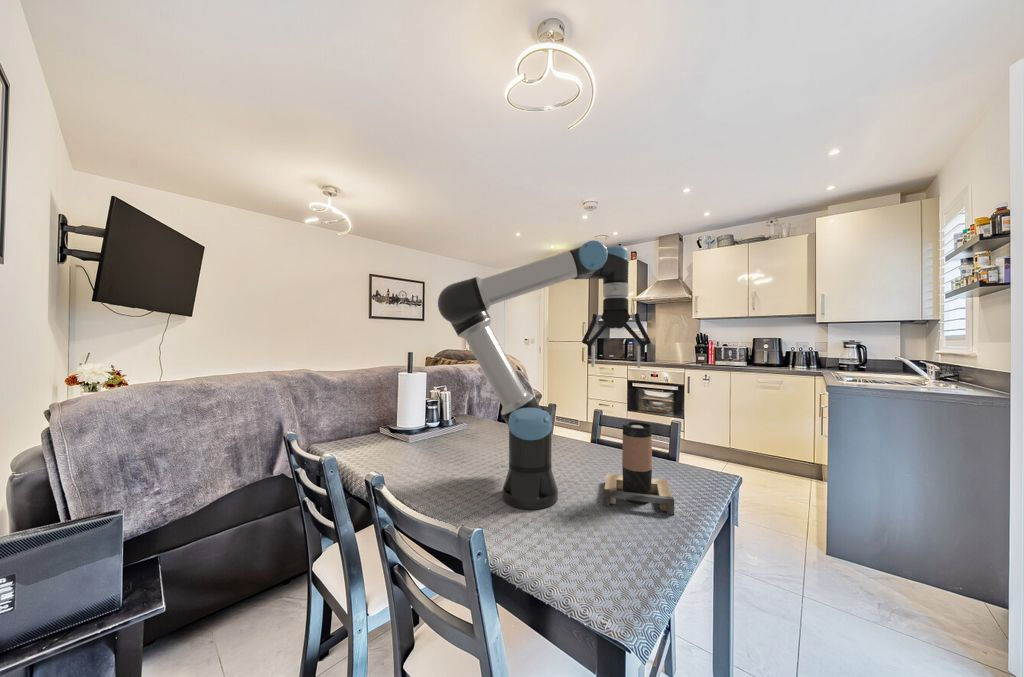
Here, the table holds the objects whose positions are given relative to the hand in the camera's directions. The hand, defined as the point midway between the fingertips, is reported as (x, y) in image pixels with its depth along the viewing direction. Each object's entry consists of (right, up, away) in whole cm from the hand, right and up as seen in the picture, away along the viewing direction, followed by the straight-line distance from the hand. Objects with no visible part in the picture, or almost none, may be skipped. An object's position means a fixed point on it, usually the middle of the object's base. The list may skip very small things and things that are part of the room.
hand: (615, 367), depth 114 cm
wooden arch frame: (+3, -35, -12) cm, 37 cm away
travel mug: (+2, -35, -13) cm, 37 cm away
